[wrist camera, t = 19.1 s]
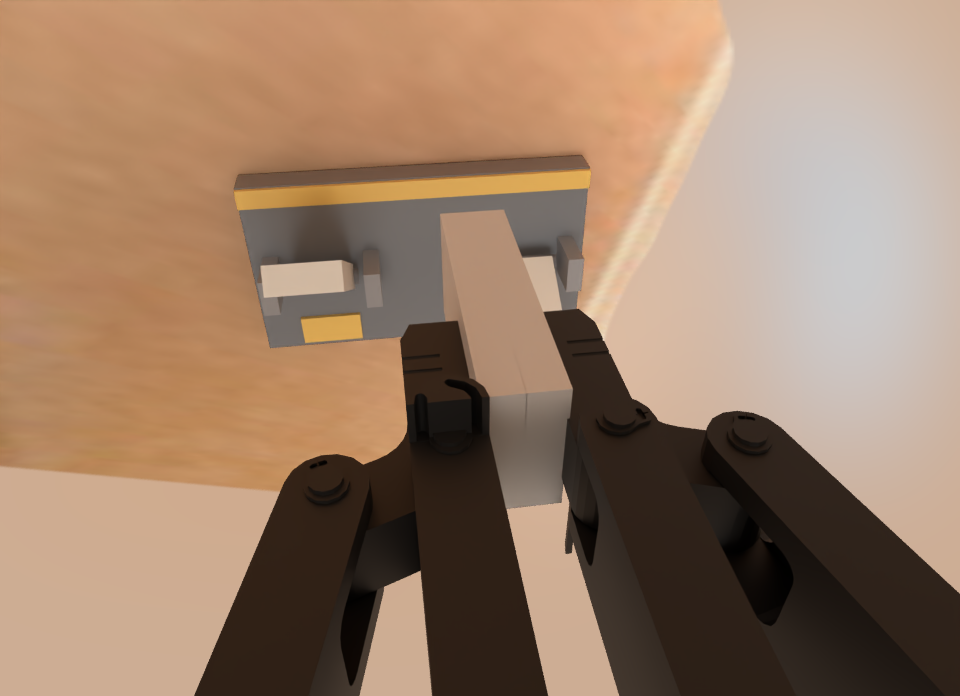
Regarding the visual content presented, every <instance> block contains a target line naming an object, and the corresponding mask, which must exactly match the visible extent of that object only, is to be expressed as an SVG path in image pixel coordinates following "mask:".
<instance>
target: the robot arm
mask: <svg viewBox="0 0 960 696" xmlns="http://www.w3.org/2000/svg"><path fill="white" fill-rule="evenodd" d="M440 224H441V249H442V274H443V299H444V314H445V320H446V321H445V322H433V323H421V324H409V326H408V328H407V329H406V331H405V333H404V335H403V336H402V338H401V340H400V342H401V354H402V365H403V377H404V388H405V399H406V411H407V422H408V425H407V433H406V435H405V437H404V439H403V441H402V442H401V443H400V444H399V446H398V447H397V448H396V449H394V450H393V451H392V452H390V453H389V454H388V455H386V456H384V457H381V458H379V459H377V460H375V461H372V462H369V463H367V464H364V465H363V464H361V463H360V462H358V461H357V460H355V459H354V458H352V457H348V456H343V455H339V454H334V455H321V456H318V457H315V458H313V459H310V460H307V461H305V462H304V463H302V464H301V465H299V466H298V467H297V468H295V469H294V470H293V471H292V472H291V473H290V475H289V476H288V478H287V479H286V481H285V482H284V484H283V487H282V489H281V491H280V494H279V496H278V499H277V501H276V504H275V506H274V508H273V511H272V513H271V515H270V517H269V520H268V522H267V525H266V527H265V529H264V532H263V534H262V536H261V539H260V541H259V544H258V546H257V548H256V551H255V553H254V555H253V558H252V560H251V562H250V565H249V567H248V570H247V572H246V575H245V577H244V579H243V581H242V584H241V586H240V588H239V591H238V593H237V596H236V598H235V600H234V603H233V605H232V607H231V610H230V612H229V615H228V617H227V619H226V622H225V624H224V627H223V629H222V631H221V634H220V636H219V638H218V641H217V643H216V645H215V648H214V650H213V652H212V655H211V657H210V659H209V662H208V664H207V667H206V669H205V671H204V674H203V676H202V678H201V681H200V683H199V686H198V688H197V690H196V693H195V695H194V696H359V695H360V690H361V686H362V682H363V677H364V673H365V669H366V665H367V660H368V656H369V652H370V648H371V643H372V639H373V635H374V631H375V626H376V622H377V618H378V613H379V609H380V604H381V601H382V596H383V592H384V586H387V585H389V584H391V583H394V582H396V581H398V580H400V579H403V578H405V577H407V576H410V575H412V574H414V573H416V572H418V571H421V580H422V590H423V601H424V613H425V624H426V633H427V634H426V635H427V645H428V656H429V667H430V678H431V689H432V696H548V693H547V689H546V684H545V680H544V675H543V671H542V666H541V662H540V658H539V653H538V649H537V644H536V640H535V635H534V631H533V627H532V622H531V617H530V613H529V609H528V604H527V599H526V595H525V591H524V586H523V582H522V577H521V573H520V569H519V564H518V560H517V555H516V550H515V546H514V542H513V537H512V533H511V528H510V524H509V519H508V515H507V510H506V509H510V508H518V507H526V506H536V505H545V504H553V503H561V501H562V491H563V484H564V487H565V490H566V493H567V496H568V499H569V512H568V521H567V530H566V539H565V551H566V554H569V553H572V545H573V543H574V546H575V550H576V553H577V556H578V559H579V563H580V566H581V570H582V573H583V576H584V579H585V583H586V586H587V590H588V593H589V596H590V600H591V603H592V606H593V609H594V613H595V616H596V619H597V623H598V626H599V630H600V633H601V636H602V640H603V643H604V646H605V649H606V653H607V656H608V659H609V663H610V666H611V669H612V673H613V676H614V680H615V683H616V686H617V690H618V693H619V696H960V594H959V593H958V592H957V591H956V590H955V589H954V588H953V587H952V586H951V585H950V584H948V583H947V582H946V581H945V580H944V579H943V578H942V577H941V576H940V575H939V574H938V573H937V572H936V571H935V570H933V569H932V568H931V567H930V566H929V565H928V564H927V563H926V562H925V561H924V560H923V559H922V558H921V557H919V556H918V555H917V554H916V553H915V552H914V551H913V550H912V549H911V548H910V547H909V546H908V545H906V543H904V542H903V541H902V540H901V539H900V538H899V537H898V536H897V535H896V534H895V533H894V532H893V531H892V530H890V529H889V528H888V527H887V526H886V525H885V524H884V523H883V522H882V521H881V520H880V519H879V518H878V517H876V516H875V515H874V514H873V513H872V512H871V511H870V510H869V509H868V508H867V507H866V506H865V505H863V504H862V503H861V502H860V501H859V500H858V499H857V498H856V497H855V496H854V495H853V494H852V493H851V492H850V491H849V490H847V489H846V488H845V487H844V486H843V485H842V484H841V483H840V482H839V481H838V480H837V479H836V478H835V477H833V476H832V475H831V474H830V473H829V472H828V471H827V470H826V469H825V468H824V467H823V466H822V465H821V464H819V463H818V462H817V461H816V460H815V459H814V458H813V457H812V456H811V455H810V454H809V453H808V452H807V451H805V450H804V449H803V448H802V447H801V446H800V445H799V444H798V443H797V442H796V441H795V440H794V439H792V437H790V436H789V435H788V434H787V433H786V432H785V431H784V430H783V429H782V428H781V427H779V426H778V425H776V424H775V423H774V422H772V421H771V420H769V419H767V418H765V417H762V416H759V415H757V414H754V413H749V412H742V411H733V412H725V413H722V414H720V415H718V416H716V417H714V418H713V419H712V420H711V422H710V423H709V425H708V427H707V430H699V429H691V428H684V427H677V426H673V425H668V424H665V423H662V422H659V421H658V420H657V418H656V416H655V415H654V414H653V413H652V411H651V410H650V409H649V408H648V407H647V406H645V405H643V404H642V403H640V402H638V401H637V400H634V399H632V398H631V396H630V394H629V392H628V390H627V388H626V386H625V383H624V381H623V379H622V377H621V375H620V373H619V371H618V369H617V367H616V365H615V363H614V361H613V359H612V357H611V354H609V350H608V348H607V346H606V344H605V342H604V341H603V338H602V336H601V334H600V332H599V329H598V327H597V325H596V323H595V322H594V321H593V320H592V319H591V318H589V317H588V316H587V315H586V314H584V313H583V312H582V311H581V310H579V309H570V310H558V311H546V312H543V310H542V308H541V305H540V302H539V300H538V297H537V295H536V292H535V289H534V287H533V284H532V282H531V279H530V276H529V274H528V271H527V269H526V266H525V263H524V261H523V258H522V256H521V253H520V250H519V248H518V245H517V243H516V240H515V238H514V235H513V232H512V230H511V227H510V225H509V222H508V219H507V217H506V214H505V212H504V210H489V211H474V212H459V213H444V214H440Z"/></svg>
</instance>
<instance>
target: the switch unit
mask: <svg viewBox="0 0 960 696" xmlns="http://www.w3.org/2000/svg"><path fill="white" fill-rule="evenodd" d="M590 176H591V170H590V166H589V165H588V163H587V162H586V161H585V159H584V158H583V156H582V155H578V156H560V157H543V158H525V159H508V160H491V161H473V162H456V163H439V164H421V165H404V166H387V167H369V168H352V169H334V170H317V171H300V172H282V173H265V174H248V175H238V177H237V180H236V183H235V186H234V196H235V201H236V205H237V210H239V213H240V218H241V222H242V226H243V231H244V235H245V240H246V244H247V248H248V253H249V257H250V262H251V266H252V270H253V275H254V279H255V284H256V288H257V292H258V297H259V301H260V305H261V310H262V314H263V319H264V323H265V327H266V332H267V336H268V341H269V345H270V348H277V347H289V346H301V345H312V344H324V343H336V342H348V341H360V340H371V339H383V338H395V337H402V336H403V335H404V333H405V331H406V329H407V328H408V326H409V324H421V323H433V322H445V321H446V320H445V314H444V299H443V274H442V249H441V224H440V214H444V213H459V212H474V211H489V210H504V212H505V214H506V217H507V219H508V222H509V225H510V227H511V230H512V232H513V235H514V238H515V240H516V243H517V245H518V248H519V250H520V253H521V256H533V255H546V254H555V256H556V269H555V274H556V279H557V285H558V290H559V296H560V301H561V307H562V310H570V309H576V307H577V296H578V291H581V286H582V276H583V266H584V258H583V256H582V244H583V234H584V224H585V213H586V203H587V193H588V188H589V187H590ZM335 260H343V261H346V262H348V263H351V264H353V269H356V268H358V270H359V280H360V284H355V289H352V290H349V291H345V292H333V293H320V294H307V295H294V296H281V297H268V298H264V295H263V286H262V277H261V267H260V266H266V265H279V264H293V263H307V262H321V261H335Z"/></svg>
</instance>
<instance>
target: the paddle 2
mask: <svg viewBox="0 0 960 696" xmlns="http://www.w3.org/2000/svg"><path fill="white" fill-rule="evenodd" d="M522 258H523V261H524V263H525V266H526V269H527V271H528V274H529V276H530V279H531V282H532V284H533V287H534V289H535V292H536V295H537V297H538V300H539V302H540V305H541V308H542V310H543V312H546V311H558V310H562V307H561V301H560V296H559V290H558V285H557V279H556V274H555V269H556V256H555V254H546V255H533V256H522Z"/></svg>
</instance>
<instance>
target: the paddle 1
mask: <svg viewBox="0 0 960 696" xmlns="http://www.w3.org/2000/svg"><path fill="white" fill-rule="evenodd" d="M260 267H261V277H262V286H263V295H264V298H268V297H281V296H294V295H307V294H320V293H333V292H345V291H349V290H352V289H355V284H360V280H359V270H358V268H356V269H353V264H351V263H348V262H346V261H343V260H335V261H321V262H307V263H293V264H279V265H266V266H260Z"/></svg>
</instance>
